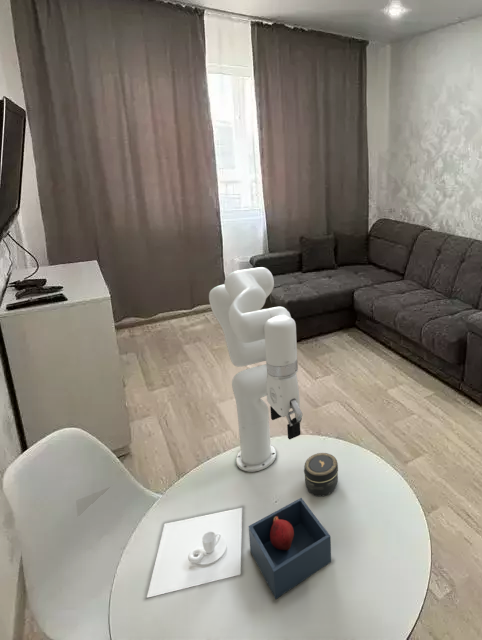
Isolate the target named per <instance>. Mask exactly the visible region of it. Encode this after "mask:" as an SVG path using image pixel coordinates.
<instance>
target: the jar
mask: <svg viewBox="0 0 482 640" xmlns="http://www.w3.org/2000/svg"><path fill="white" fill-rule="evenodd" d="M303 472H304V485H305V488H306V490H307V491H308V493H309V494H311V496H315V497H326V496H328V495H330V494H331V493H333V492H334V491H335V489H336V488H337V485H338V482H339V481H338V480H339V476H338V475H339V463H338V460H337V458H336V457H335V456H334V455H333V454H331V453H327V452H318V453H315V454H312V455H310V456H309V457H308V458H307V459H306V460H305V462H304V466H303Z"/></svg>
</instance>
